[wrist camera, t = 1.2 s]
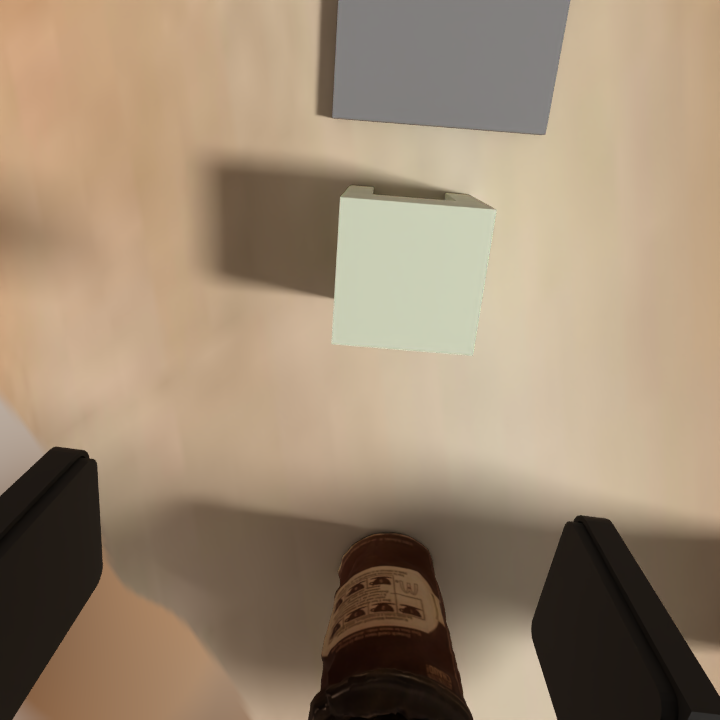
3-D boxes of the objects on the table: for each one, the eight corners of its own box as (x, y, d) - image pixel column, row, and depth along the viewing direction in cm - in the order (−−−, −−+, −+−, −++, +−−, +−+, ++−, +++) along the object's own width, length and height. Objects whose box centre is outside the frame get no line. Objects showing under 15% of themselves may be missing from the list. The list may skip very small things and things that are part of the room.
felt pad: (588, -127, 22) (595, -136, 22) (540, 134, 26) (545, 134, 25) (347, -145, 22) (346, -155, 22) (333, 118, 26) (332, 117, 25)
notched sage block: (469, 194, 27) (496, 209, 21) (452, 309, 29) (473, 355, 23) (350, 185, 27) (340, 197, 21) (342, 300, 29) (331, 344, 23)
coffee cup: (302, 534, 35) (260, 736, 23) (422, 497, 34) (445, 691, 22) (352, 628, 38) (338, 852, 26) (465, 598, 37) (507, 819, 25)
